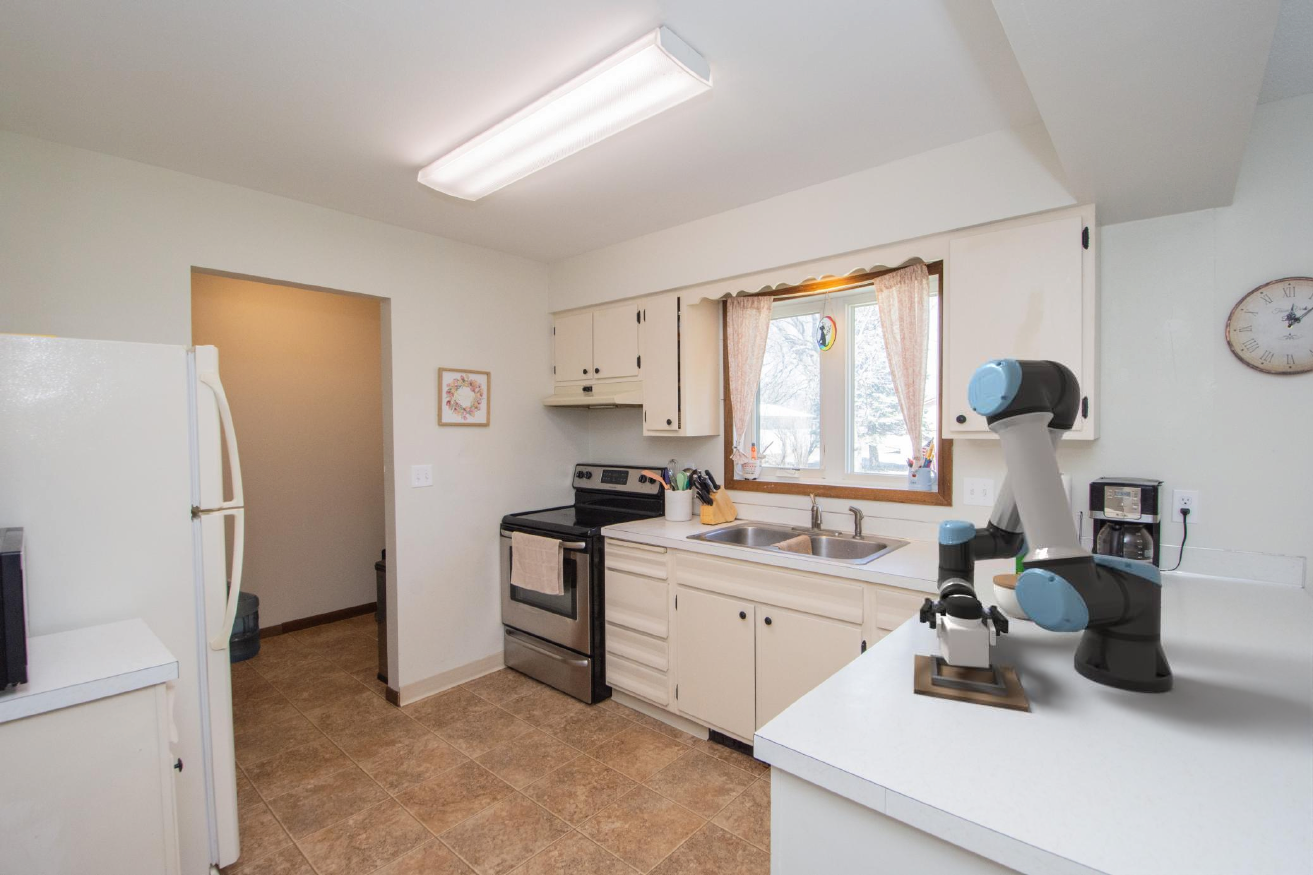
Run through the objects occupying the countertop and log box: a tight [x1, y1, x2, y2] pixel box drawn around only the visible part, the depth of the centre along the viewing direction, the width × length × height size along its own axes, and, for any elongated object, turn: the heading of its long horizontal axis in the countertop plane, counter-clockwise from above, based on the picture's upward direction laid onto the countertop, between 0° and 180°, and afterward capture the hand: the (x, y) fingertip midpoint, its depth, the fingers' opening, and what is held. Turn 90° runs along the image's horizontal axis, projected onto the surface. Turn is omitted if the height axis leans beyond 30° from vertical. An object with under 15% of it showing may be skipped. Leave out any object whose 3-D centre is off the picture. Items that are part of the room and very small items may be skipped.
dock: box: [913, 654, 1029, 713], centre depth 113 cm, size 18×18×2 cm
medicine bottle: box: [938, 595, 991, 668], centre depth 113 cm, size 7×7×12 cm
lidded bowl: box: [992, 572, 1030, 620], centre depth 153 cm, size 13×13×11 cm
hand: (965, 634), depth 109 cm, fingers closed on medicine bottle, 8 cm apart
